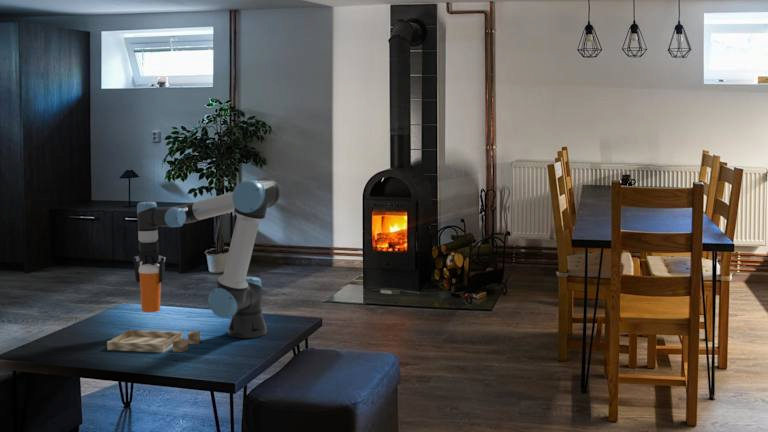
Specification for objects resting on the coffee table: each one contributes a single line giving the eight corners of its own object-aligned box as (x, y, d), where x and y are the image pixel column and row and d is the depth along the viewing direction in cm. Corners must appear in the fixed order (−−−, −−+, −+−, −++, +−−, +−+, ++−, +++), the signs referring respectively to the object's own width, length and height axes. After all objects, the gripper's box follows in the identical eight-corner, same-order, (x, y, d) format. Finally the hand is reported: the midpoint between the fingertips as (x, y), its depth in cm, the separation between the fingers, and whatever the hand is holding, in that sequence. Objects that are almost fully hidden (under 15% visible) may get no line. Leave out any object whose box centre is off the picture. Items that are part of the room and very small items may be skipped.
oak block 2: (200, 341, 327) (199, 331, 326) (198, 344, 323) (198, 333, 322) (189, 341, 326) (189, 331, 326) (188, 344, 322) (188, 334, 322)
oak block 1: (188, 349, 315) (187, 339, 315) (182, 352, 311) (182, 341, 311) (178, 348, 316) (178, 338, 316) (172, 351, 313) (172, 340, 312)
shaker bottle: (156, 313, 331) (155, 263, 329) (135, 312, 333) (134, 262, 331) (166, 308, 340) (165, 259, 338) (145, 307, 342) (144, 258, 339)
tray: (182, 339, 328) (182, 332, 328) (163, 352, 311) (163, 344, 310) (129, 337, 332) (128, 329, 331) (107, 349, 314) (107, 341, 314)
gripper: (172, 239, 336) (174, 297, 338) (132, 239, 338) (135, 297, 341) (164, 242, 328) (167, 301, 331) (124, 242, 331) (127, 300, 334)
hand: (151, 299), depth 336 cm, fingers open, 4 cm apart
